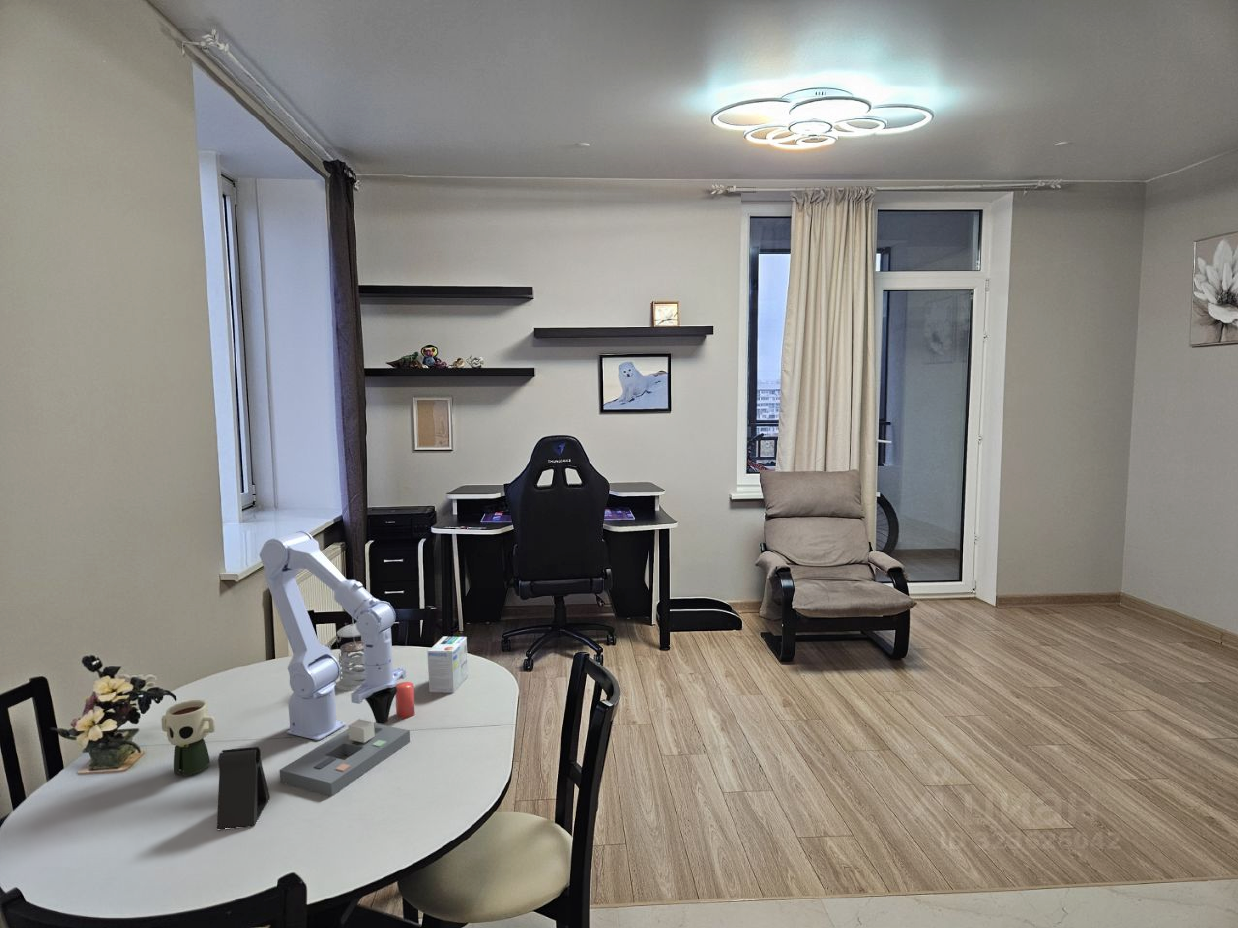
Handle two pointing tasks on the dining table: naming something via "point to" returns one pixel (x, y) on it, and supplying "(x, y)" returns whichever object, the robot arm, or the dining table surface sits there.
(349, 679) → the french press
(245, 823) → the phone stand
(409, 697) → the pin
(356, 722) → the lever
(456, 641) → the light bulb box
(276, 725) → the dining table surface
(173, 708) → the character mug
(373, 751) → the breaker panel
